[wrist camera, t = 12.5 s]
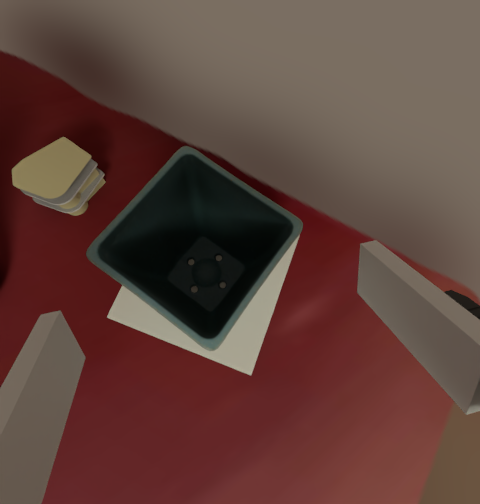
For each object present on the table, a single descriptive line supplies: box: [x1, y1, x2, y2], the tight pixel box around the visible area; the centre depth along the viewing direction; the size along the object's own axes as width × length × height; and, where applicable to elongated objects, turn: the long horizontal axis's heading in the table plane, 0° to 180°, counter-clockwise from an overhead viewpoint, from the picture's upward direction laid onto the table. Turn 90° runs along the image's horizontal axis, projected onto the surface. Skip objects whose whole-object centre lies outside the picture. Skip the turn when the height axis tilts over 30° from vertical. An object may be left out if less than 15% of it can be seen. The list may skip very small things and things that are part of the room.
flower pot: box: [86, 146, 303, 351], centre depth 22 cm, size 9×9×9 cm
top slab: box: [107, 235, 300, 375], centre depth 28 cm, size 12×12×4 cm
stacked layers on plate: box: [12, 137, 106, 216], centre depth 34 cm, size 10×9×6 cm
